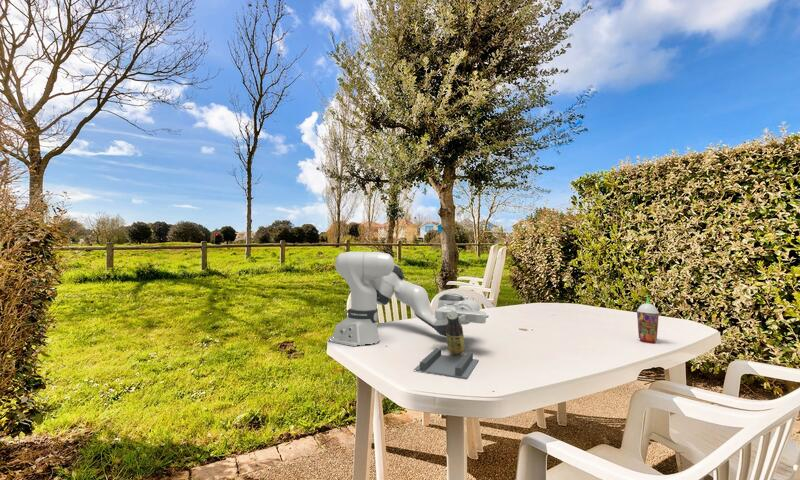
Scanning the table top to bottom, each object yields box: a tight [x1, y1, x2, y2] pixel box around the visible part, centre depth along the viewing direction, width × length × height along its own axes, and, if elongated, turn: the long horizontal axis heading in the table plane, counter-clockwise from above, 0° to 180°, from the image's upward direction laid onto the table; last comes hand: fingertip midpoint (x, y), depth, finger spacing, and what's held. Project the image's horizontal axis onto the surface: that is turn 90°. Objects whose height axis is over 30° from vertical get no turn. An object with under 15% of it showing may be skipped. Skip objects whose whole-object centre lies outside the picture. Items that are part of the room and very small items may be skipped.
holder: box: [413, 347, 480, 380], centre depth 128 cm, size 18×20×3 cm
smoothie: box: [636, 297, 660, 344], centre depth 165 cm, size 8×8×20 cm
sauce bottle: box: [446, 311, 466, 357], centre depth 136 cm, size 6×6×20 cm
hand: (456, 319), depth 139 cm, fingers closed
